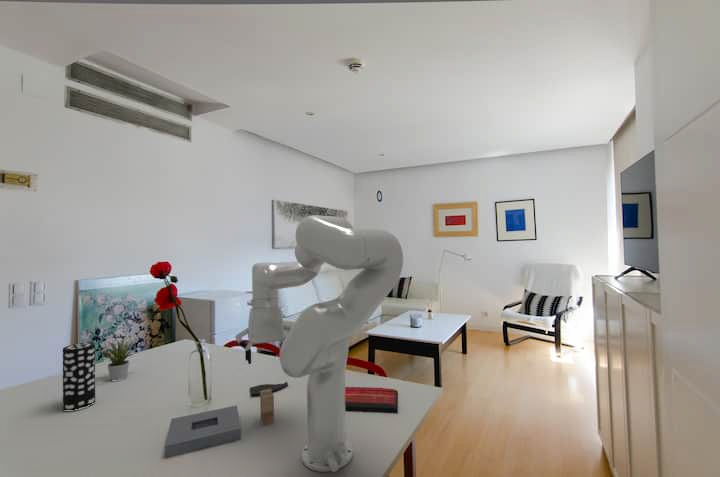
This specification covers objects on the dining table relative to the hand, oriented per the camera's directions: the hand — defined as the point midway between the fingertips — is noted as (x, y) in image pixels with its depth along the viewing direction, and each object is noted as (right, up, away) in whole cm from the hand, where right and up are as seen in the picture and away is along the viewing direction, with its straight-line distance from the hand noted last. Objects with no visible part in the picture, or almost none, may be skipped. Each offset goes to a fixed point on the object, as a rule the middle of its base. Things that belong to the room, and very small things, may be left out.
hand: (266, 359), depth 100 cm
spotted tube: (-66, -20, +11) cm, 70 cm away
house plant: (-69, -20, +35) cm, 80 cm away
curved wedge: (-5, -19, +20) cm, 28 cm away
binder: (+31, -18, +11) cm, 37 cm away
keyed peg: (0, -18, 0) cm, 18 cm away
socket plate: (-15, -18, -7) cm, 25 cm away
